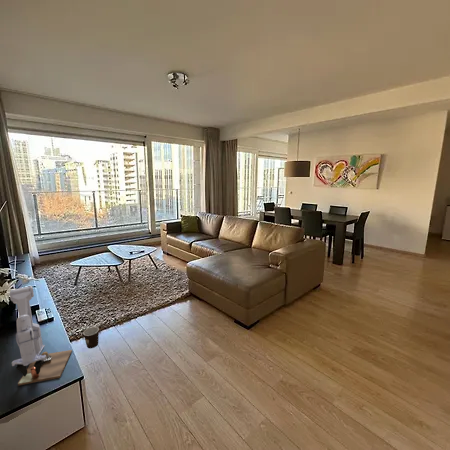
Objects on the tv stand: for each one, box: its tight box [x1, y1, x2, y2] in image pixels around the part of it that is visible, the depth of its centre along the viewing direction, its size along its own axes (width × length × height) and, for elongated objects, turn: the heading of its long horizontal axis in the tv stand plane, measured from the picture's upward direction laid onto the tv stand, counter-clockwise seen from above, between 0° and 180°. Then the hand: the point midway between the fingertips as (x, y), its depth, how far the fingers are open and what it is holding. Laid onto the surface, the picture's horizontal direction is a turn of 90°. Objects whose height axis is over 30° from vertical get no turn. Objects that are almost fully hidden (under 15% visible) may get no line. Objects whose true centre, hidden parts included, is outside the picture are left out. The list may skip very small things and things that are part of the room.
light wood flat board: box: [17, 349, 73, 386], centre depth 137 cm, size 20×19×5 cm
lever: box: [31, 358, 52, 379], centre depth 134 cm, size 14×7×5 cm, turn 24°
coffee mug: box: [81, 326, 100, 349], centre depth 155 cm, size 12×9×10 cm
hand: (32, 373), depth 128 cm, fingers open, 5 cm apart
